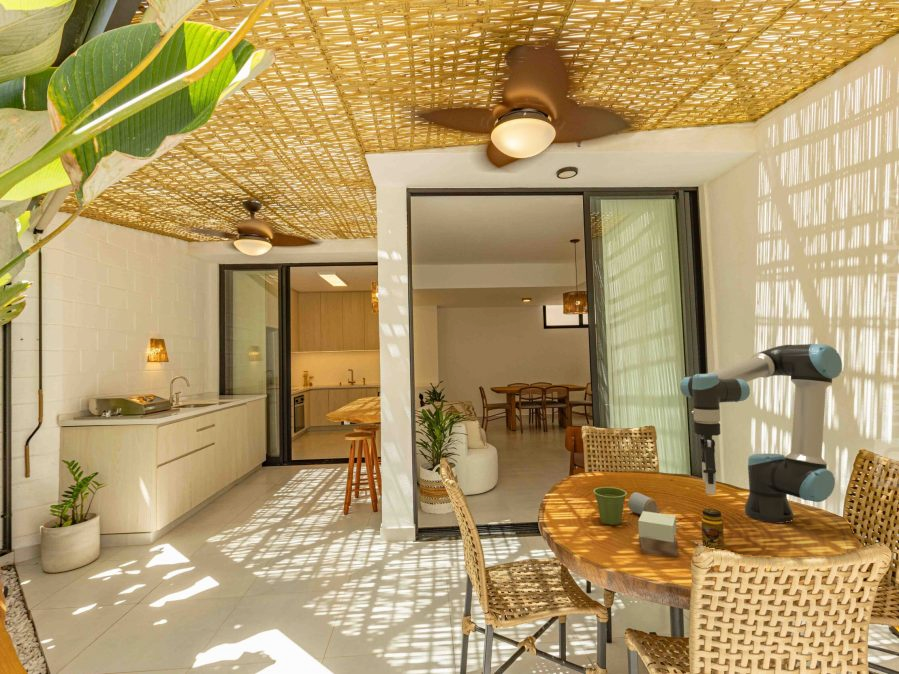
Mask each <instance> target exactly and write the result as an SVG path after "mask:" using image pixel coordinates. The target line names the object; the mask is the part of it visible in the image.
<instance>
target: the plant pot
mask: <svg viewBox="0 0 899 674" xmlns="http://www.w3.org/2000/svg"><path fill="white" fill-rule="evenodd" d="M592 492H593V494H594V496H595V499H596V502H597V503H596V504H597V508H598V513H599V517H600V519H599V520H600V522H601V523H602V524H605V525H610V526H618V525H621V523H622V519H623V511H624V504H625V500H626V496H627V495H628V492H627V491H625V490H624V489H621V488H618V487H611V486H602V487H601V486H600V487H596V488H594V489H593V491H592Z"/></svg>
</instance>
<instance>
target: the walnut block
mask: <svg viewBox="0 0 899 674" xmlns="http://www.w3.org/2000/svg"><path fill="white" fill-rule="evenodd" d="M637 530H639V528H638V529H637ZM638 543H639V545H640V548H641V551H642V553H643V555H652V556H653V555H654V556H665V557H679V551H678V550H679V547H678V540H677V538H676V537H675V538H674V542H668V541H662V540H656V539H650V538H644V537H639V536H638Z"/></svg>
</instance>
